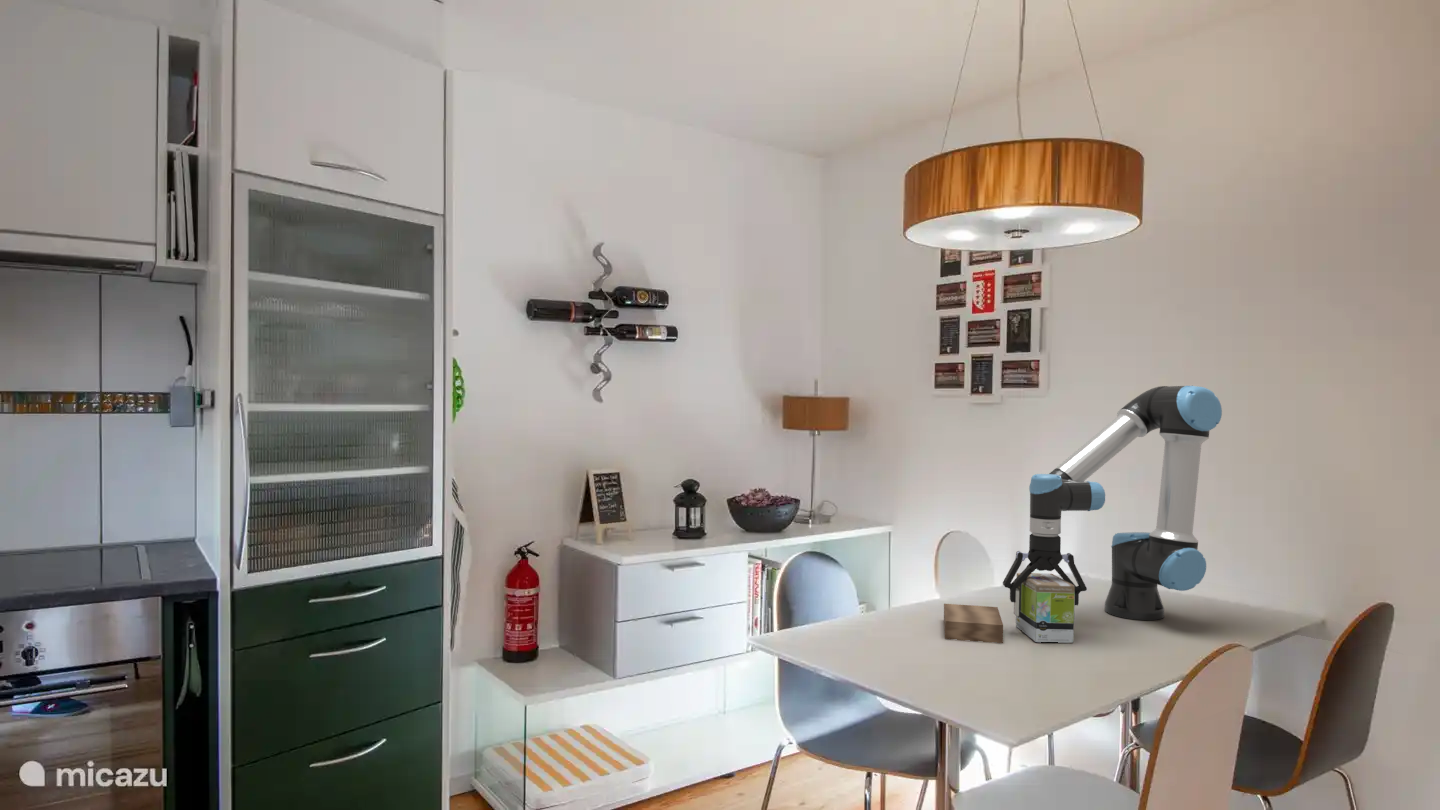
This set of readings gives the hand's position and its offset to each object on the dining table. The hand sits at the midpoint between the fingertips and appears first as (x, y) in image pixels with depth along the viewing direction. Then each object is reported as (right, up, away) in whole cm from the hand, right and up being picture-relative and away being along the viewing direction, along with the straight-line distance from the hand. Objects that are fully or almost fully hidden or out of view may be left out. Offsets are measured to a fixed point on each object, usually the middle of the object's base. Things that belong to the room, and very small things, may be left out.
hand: (1043, 616), depth 216 cm
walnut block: (-18, -5, +3) cm, 19 cm away
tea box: (0, -5, 0) cm, 5 cm away
